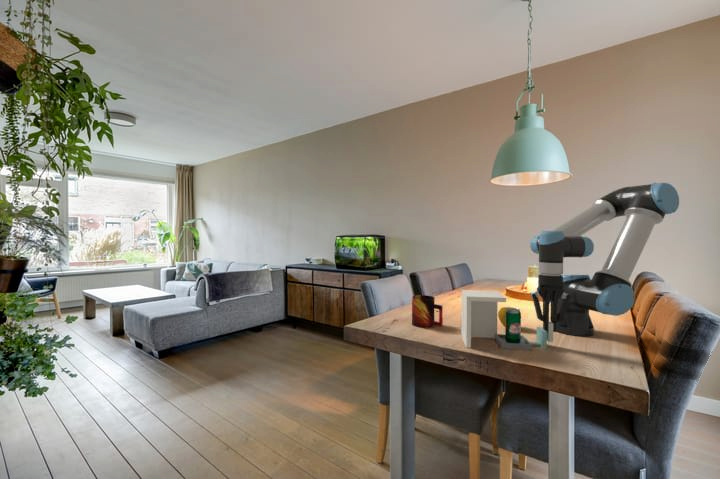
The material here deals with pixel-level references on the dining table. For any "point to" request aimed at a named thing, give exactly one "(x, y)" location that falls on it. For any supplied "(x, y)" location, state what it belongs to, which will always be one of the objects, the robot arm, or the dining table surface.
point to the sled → (524, 341)
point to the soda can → (513, 325)
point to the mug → (425, 312)
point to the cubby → (479, 314)
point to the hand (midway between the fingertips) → (549, 340)
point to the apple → (502, 315)
